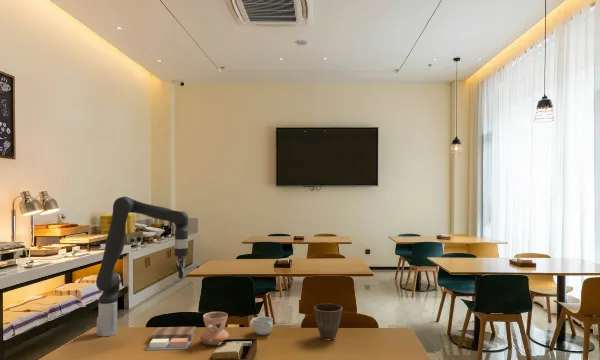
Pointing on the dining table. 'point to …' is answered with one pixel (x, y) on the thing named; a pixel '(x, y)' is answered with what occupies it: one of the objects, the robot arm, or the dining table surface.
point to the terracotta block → (178, 342)
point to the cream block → (159, 343)
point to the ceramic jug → (214, 328)
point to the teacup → (262, 325)
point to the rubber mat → (169, 347)
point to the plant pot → (328, 319)
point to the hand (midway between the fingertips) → (180, 278)
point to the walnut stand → (174, 333)
